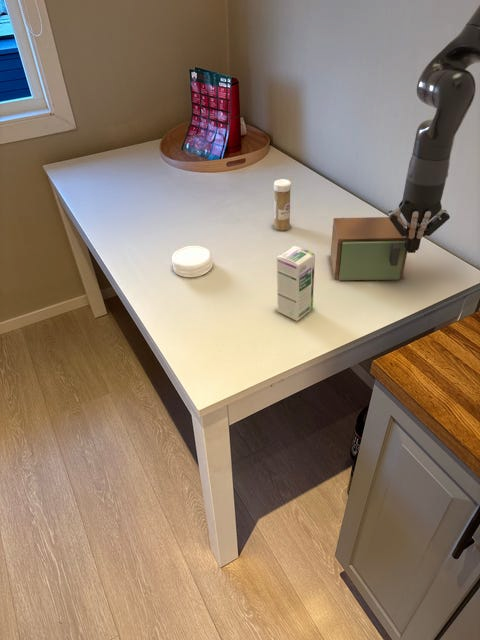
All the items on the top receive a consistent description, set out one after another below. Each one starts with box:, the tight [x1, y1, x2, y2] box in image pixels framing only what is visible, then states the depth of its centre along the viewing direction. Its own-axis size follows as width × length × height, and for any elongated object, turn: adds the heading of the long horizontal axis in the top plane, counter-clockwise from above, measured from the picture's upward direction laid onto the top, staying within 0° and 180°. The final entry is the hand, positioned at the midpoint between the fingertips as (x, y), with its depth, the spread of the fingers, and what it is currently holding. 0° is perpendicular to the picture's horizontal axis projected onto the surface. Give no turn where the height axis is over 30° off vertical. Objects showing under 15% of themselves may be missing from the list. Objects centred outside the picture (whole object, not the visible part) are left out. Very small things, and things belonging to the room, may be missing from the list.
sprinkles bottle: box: [273, 178, 292, 231], centre depth 133 cm, size 5×5×14 cm
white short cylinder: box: [171, 245, 213, 278], centre depth 122 cm, size 10×10×4 cm
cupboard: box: [329, 216, 408, 280], centre depth 116 cm, size 16×10×11 cm, turn 87°
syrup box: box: [276, 245, 316, 322], centre depth 103 cm, size 6×6×14 cm
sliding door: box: [338, 241, 405, 281], centre depth 111 cm, size 14×3×10 cm, turn 87°
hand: (410, 251), depth 108 cm, fingers closed
